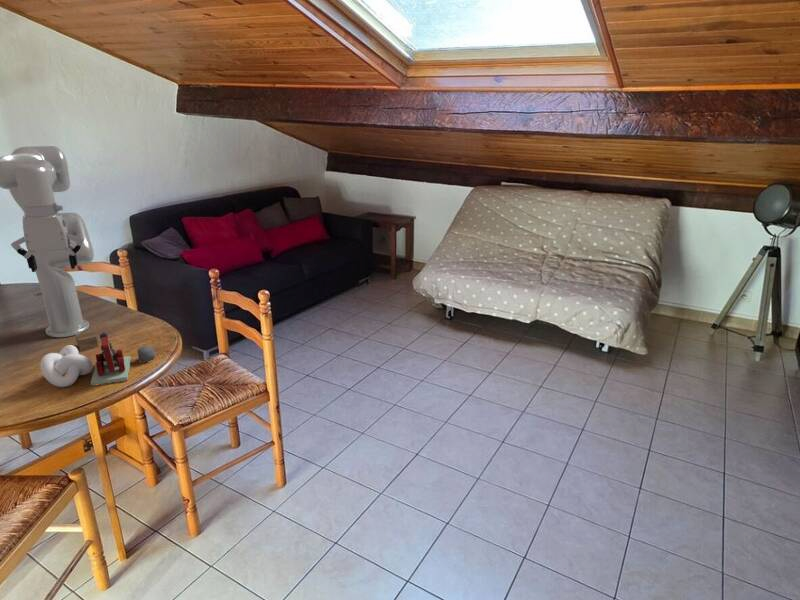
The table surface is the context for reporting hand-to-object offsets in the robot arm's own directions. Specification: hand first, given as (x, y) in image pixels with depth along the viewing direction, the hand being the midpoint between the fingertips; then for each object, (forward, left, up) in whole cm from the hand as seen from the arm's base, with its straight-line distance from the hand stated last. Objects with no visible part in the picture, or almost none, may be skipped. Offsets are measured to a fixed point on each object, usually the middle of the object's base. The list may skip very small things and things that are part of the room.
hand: (54, 268), depth 147 cm
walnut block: (-5, +3, -28) cm, 29 cm away
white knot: (+15, +1, -28) cm, 32 cm away
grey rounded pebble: (+10, +21, -28) cm, 36 cm away
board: (+15, +12, -28) cm, 34 cm away
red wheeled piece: (+15, +12, -27) cm, 33 cm away
